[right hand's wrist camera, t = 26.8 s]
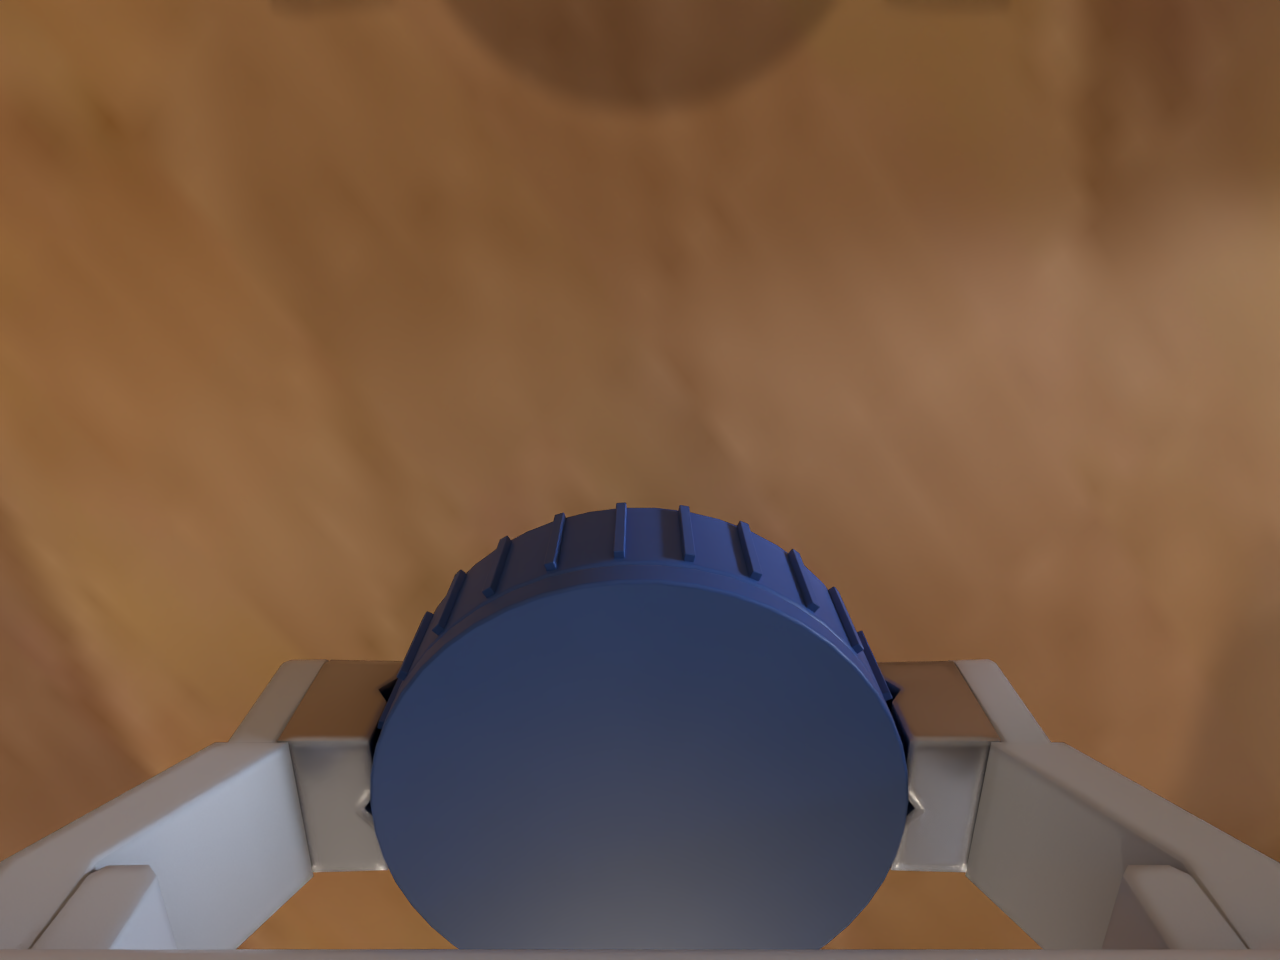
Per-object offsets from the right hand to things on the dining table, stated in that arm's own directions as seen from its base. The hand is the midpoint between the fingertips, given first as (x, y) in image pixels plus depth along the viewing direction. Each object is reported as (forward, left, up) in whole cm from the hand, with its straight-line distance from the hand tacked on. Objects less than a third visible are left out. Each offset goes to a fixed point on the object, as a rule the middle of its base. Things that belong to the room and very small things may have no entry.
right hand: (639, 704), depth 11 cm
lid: (0, 0, +2) cm, 2 cm away
